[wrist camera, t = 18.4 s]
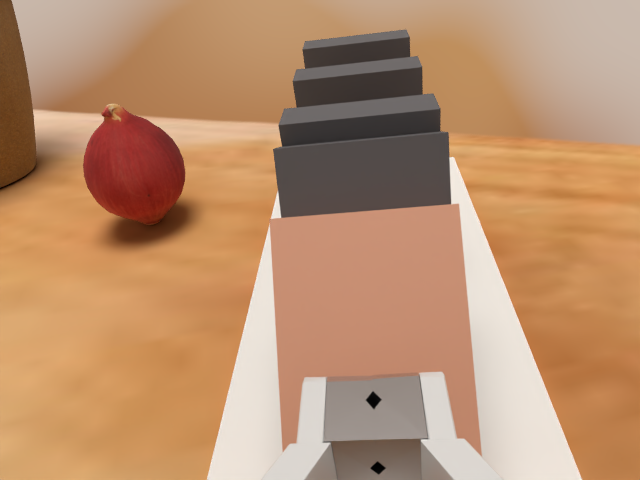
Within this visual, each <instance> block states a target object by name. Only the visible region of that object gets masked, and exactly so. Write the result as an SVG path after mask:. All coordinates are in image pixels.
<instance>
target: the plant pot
mask: <svg viewBox="0 0 640 480" xmlns="http://www.w3.org/2000/svg"><path fill="white" fill-rule="evenodd" d="M35 165H36V143H35V129H34V116H33V108H32V100H31V92H30V86H29V80H28V73H27V68H26V62H25V57H24V51H23V47H22V42H21V38H20V33H19V29H18V25H17V20H16V16H15V12H14V9H13V4H12V1H11V0H0V187H3V186H6V185H8V184H10V183H12V182H14V181H16V180H18V179H20V178H22V177H24V176H25V175H27V174H28V173H29V172H30V171H32V170H33V168H34V167H35Z"/></svg>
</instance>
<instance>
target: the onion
mask: <svg viewBox="0 0 640 480" xmlns="http://www.w3.org/2000/svg"><path fill="white" fill-rule="evenodd" d="M101 114H102V116H104V122H103V123H102V124H101V125H100V126H99V127H98V129H97V130H96V131H95V132H94V133H93V135H92V136H91V138H90V140H89V142H88V145H87V148H86V152H85V155H84V163H83V168H84V177H85V180H86V184H87V187H88V189H89V190H90V192H91V194H92V195H93V197H94V198H95V200H96V201H97V202H98V203H99V204H100V205H101V206H102V207H103V208H105V209H106V210H107V211H108V212H110V213H113V214H116V215H118V216H121V217H124V218H127V219H131V220H136V221H139V222H141V223H143V224H146V225H153V224H156V223H158V222H160V221H161V219H162V218H163V217H164V216H165V215H166V213H167V212H168V211H169V210H170V209H171V208H172V207H173V205H174V204H175V203H176V201H177V200H178V198H179V196H180V195H181V193H182V189H183V186H184V182H185V168H184V161H183V158H182V155H181V153H180V151H179V148H178V147H177V145H176V144H175V142H174V141H173V139H172V138H171V137H170V136H169V135H167V134H166V133H165V132H164V131H163V130H162V129H161V128H159V127H157V126H155V125H154V124H152V123H151V122H149V121H148V120H146V119H144V118H141V117H138V116H134V115H132V114H130V113H129V112H127V111H126V110H125V109H124V108H123V107H121V106H120V105H119V104H109V105H107V106H106V107H105V109H104V111H103V112H102V113H101Z"/></svg>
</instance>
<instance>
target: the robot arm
mask: <svg viewBox="0 0 640 480" xmlns="http://www.w3.org/2000/svg"><path fill="white" fill-rule="evenodd" d="M261 480H504V479H503V478H502V477H501V476H500V475H499V474H498V473H497V472H496V471H495V470H494V469H493V468H492V467H491V466H490V465H489V464H488V463H487V462H486V461H485V460H484V458H483V457H482V456H481V455H480V454H479V453H478V452H477V451H476V450H475V449H474V448H473V447H472V446H471V445H470V444H469V443H468V442H467V441H466V440H465V439H457V435H456V430H455V425H454V420H453V415H452V410H451V405H450V400H449V395H448V390H447V385H446V380H445V375H444V374H443V372H423V373H419V374H418V372H416V373H398V374H380V375H373V376H328V377H305V378H304V381H303V383H302V392H301V402H300V412H299V422H298V432H297V442H296V443H293V444H289V445H288V446H287V448H286V449H285V450H284V451H283V453H282V454H281V455H280V456H279V458H278V459H277V460H276V461H275V463H274V464H273V465H272V466H271V468H270V469H269V470H268V471H267V473H266V474H265V475H264V476H263V478H262V479H261Z"/></svg>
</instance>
